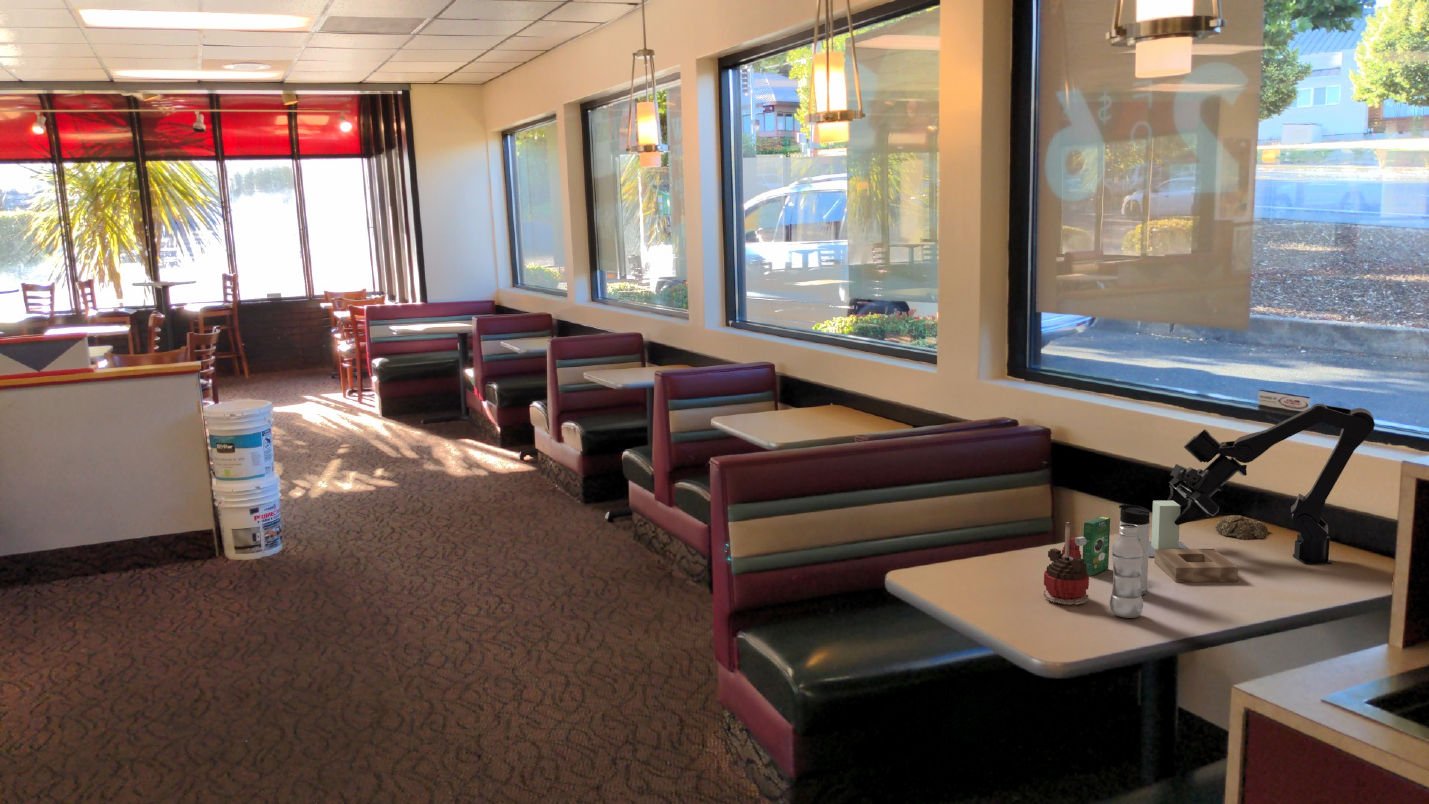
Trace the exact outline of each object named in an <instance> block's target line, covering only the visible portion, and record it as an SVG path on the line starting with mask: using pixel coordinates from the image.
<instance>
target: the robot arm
mask: <svg viewBox="0 0 1429 804" xmlns="http://www.w3.org/2000/svg"><path fill="white" fill-rule="evenodd" d="M1319 423H1322V424H1325V425H1330V426H1333V427H1335V428H1339V429H1341V430H1340V434H1339V438H1338V441H1337V443H1336V444H1335V446H1334V448H1333V450H1332V451H1331V454H1330V456H1329V457H1328V459H1327V460H1326V463H1325V464H1324V466H1323V468H1322V469H1321V471H1320V473H1319V475H1318V477H1317V478H1316V480H1315V482H1314V483H1313V485H1312V486H1311V488H1310V490H1309V491H1308V493H1306V494H1305V495H1303V494H1301V493H1298V495H1297V498H1296V501H1295V503H1294V504H1292V505H1291V506H1290V515H1291V523H1292V526H1293V527H1294V528H1295V529H1296V530H1297V531H1299V533H1297V535H1296V539H1295V541H1294V550H1293V554H1292V557H1293V558H1295V559H1297V561H1300V562H1301V563H1303V564H1306V565H1308V564H1310V565H1313V564H1314V565H1318V564H1319V565H1321V564H1323V565H1325V564H1329V565H1330V564H1331V565H1332V564H1333V561H1332V560H1330V559H1329V557H1330V555H1329V554H1330V544H1331V543H1330V542H1331V537H1330V536H1329V525H1328V523H1326V522H1325V521H1324V519H1322V515H1323V511H1324V508H1325V504H1326V501H1327V499H1328V497H1329V495H1330V494H1331V492H1332V491H1333V489H1334V487H1335V485H1336V483H1337V482H1338V479H1339V478H1340V476H1341V475H1342V472H1343V471H1344V469H1345V468H1346V465H1347V464H1348V462H1349V461H1350V459H1351V457H1352V456H1353V453H1354V452H1355V451H1356V450H1357V448H1359V446H1360V445H1361V444H1363V442H1365V440H1366V439H1367V438H1368V437H1369V436H1370V435H1371V433H1372V432H1373V431H1374V429H1375V425H1376V424H1375V423H1376V422H1375V419H1374V416H1373V414H1372V412H1370V410H1368V409H1366V408H1363V407H1358V408H1357V407H1356V408H1353V409H1350V408H1346V407H1340V406H1339V407H1338V406H1334V405H1333V406H1331V405H1328V404H1324V403H1314V404H1312V405H1311V406H1310V408H1307V409H1305V410H1302V411H1301V412H1299V413H1297V414H1295V415H1293V416H1291V417H1289V418H1287V419H1284V420H1283V421H1281V422H1279V423H1276V424H1275V425H1273V426H1271V427H1269V428H1267V429H1265V430H1261V431H1256V432H1252V433H1249V434H1245V435H1242V436H1240V437H1238V438H1237V439H1234V440H1232V441H1231V440H1230V441H1223V442H1222V441H1221V442H1219V441H1218V440H1217V439H1216V438H1214V436H1212V434H1211V433H1210V432H1209V431H1208V430H1207V429H1205V428H1204V429H1203V430H1202V431H1200V432H1199V433H1197V434H1196V435H1194V436H1192V438H1191V439H1189V440H1188V441H1187V442H1186V444H1185V445H1184V446H1183V448H1184V449H1185V451H1187V452H1188V453H1189V454H1190V455H1192V456H1193V457H1194V458H1195V459H1196V460H1197V461H1198V462H1200V463H1207V464H1208V463H1209V462H1211V461H1212V460H1213V459H1214V458H1215V457H1216V456H1217V455H1218V456H1217V457H1216V458H1215V459H1214V460H1213V461H1212V462H1211V463H1209V465H1207V467H1205V468H1204V469H1201V468H1200V469H1196V468H1193V467H1191V466H1189V467H1188V468H1187V467H1184V466H1182V465H1180V464H1177V463H1175V464H1174V467H1173V468H1172V471H1171V473H1170V476H1172V477H1173V478H1172V479H1171V480H1170V481H1169V482H1168V483H1169V486H1168V487H1169V488H1170V494H1169V496H1168V499H1167V500H1166V501H1175V502H1176V503H1177V504H1179V505H1180V508H1181V507H1184V506H1186V505H1187V506H1186V507H1185V508H1184V509H1183V511H1182V512H1180V515H1179V516H1178V518H1177V519H1176V520H1175V522H1174V523H1175V524H1176V525H1183V524H1187V523H1190V522H1192V521H1196V520H1199V519H1203V518H1207V517H1208V518H1209V517H1210V516H1211V517H1214V516H1215V515H1216V514H1217V513H1218V512H1219V511H1220V506H1219V504H1218V503H1216V502H1215V501H1214V500H1213V499H1212V498H1211V497H1212V496H1213V495H1214V494H1215V493H1216V492H1217V491H1219V492H1222V491H1223V490H1224V487H1223V486H1224V485H1225V484H1226V483H1227V482H1228V481H1229V480H1230V479H1231V478H1233V476H1234V475H1235V474H1237V473H1238V474H1239V475H1241V476H1242V477H1243V476H1247V473H1248V472H1247V467H1248V466H1247V464H1248V463H1251V462H1253V461H1255V460H1256V459H1257V458H1259V457H1260V456H1261V455H1263V454H1264V453H1265V452H1267V451H1268V450H1269V449H1270V448H1272V447H1273V446H1275V445H1276V444H1278V443H1280V442H1283V441H1284V440H1287V439H1288V438H1290V437H1292V436H1295V435H1296V434H1298V433H1301V432H1303V431H1305V430H1307V429H1309V428H1311V427H1313V426H1315V425H1317V424H1319ZM1241 463H1242V464H1241Z"/></svg>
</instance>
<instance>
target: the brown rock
mask: <svg viewBox="0 0 1429 804" xmlns="http://www.w3.org/2000/svg"><path fill="white" fill-rule="evenodd" d="M1215 530H1216V532H1217V533H1218V534H1219V535H1220V536H1223V537H1234V538H1237V539H1238V540H1243V541H1248V540H1249V541H1251V540H1250V539H1252V540H1254V539H1256V540H1258V539H1259V540H1260V539H1263V538H1265V537H1266V535H1267V534H1266V533H1268V534H1269V532H1268V527H1267V525H1266V524H1264V523H1263V522H1262V521H1259V520H1255V519H1251V518H1250V517H1246V516H1242V514H1241V515H1240V514H1239V515H1235V514H1233V515H1226V516H1223V517H1222V518H1220V520H1219V521H1218V522H1216V526H1215ZM1264 536H1265V537H1264Z"/></svg>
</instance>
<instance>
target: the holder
mask: <svg viewBox="0 0 1429 804" xmlns="http://www.w3.org/2000/svg"><path fill="white" fill-rule="evenodd" d="M1154 564H1155V565H1156V566H1157V567H1158V568H1159V569H1160V570H1161V571H1162V572H1164V573H1165V574H1166V575H1167V574H1168V575H1167V576H1168V577H1169V578H1170V577H1171V578H1170V579H1171V580H1172V581H1174V582H1175V583H1215V582H1216V583H1221V582H1222V583H1227V582H1228V583H1229V582H1233V583H1235V582H1238V580H1239V579H1238V577H1239V575H1238V574H1239V567H1238V565H1236V564H1234V563H1233V562H1232V561H1230V560H1229V559H1228V558H1226V557H1225V556H1224V555H1223V554H1222V553H1220V552H1219V551H1217V550H1216V549H1215V548H1189V549H1155V558H1154Z"/></svg>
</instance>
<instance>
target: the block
mask: <svg viewBox="0 0 1429 804" xmlns="http://www.w3.org/2000/svg"><path fill="white" fill-rule="evenodd" d="M1180 514H1181V507H1180V505H1179V504H1177V503H1176V502H1175V501H1167V500H1153V501H1152V515H1151V516H1152V517H1151V518H1152V522H1151V541H1150V542H1151V546H1152V547H1153V548H1154V549H1178V548H1179V541H1180V527H1181V526H1180V525H1181V524H1180V525H1176V524H1175V523H1174V522H1175V520H1176V519H1177V518H1178V516H1179V515H1180Z"/></svg>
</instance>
